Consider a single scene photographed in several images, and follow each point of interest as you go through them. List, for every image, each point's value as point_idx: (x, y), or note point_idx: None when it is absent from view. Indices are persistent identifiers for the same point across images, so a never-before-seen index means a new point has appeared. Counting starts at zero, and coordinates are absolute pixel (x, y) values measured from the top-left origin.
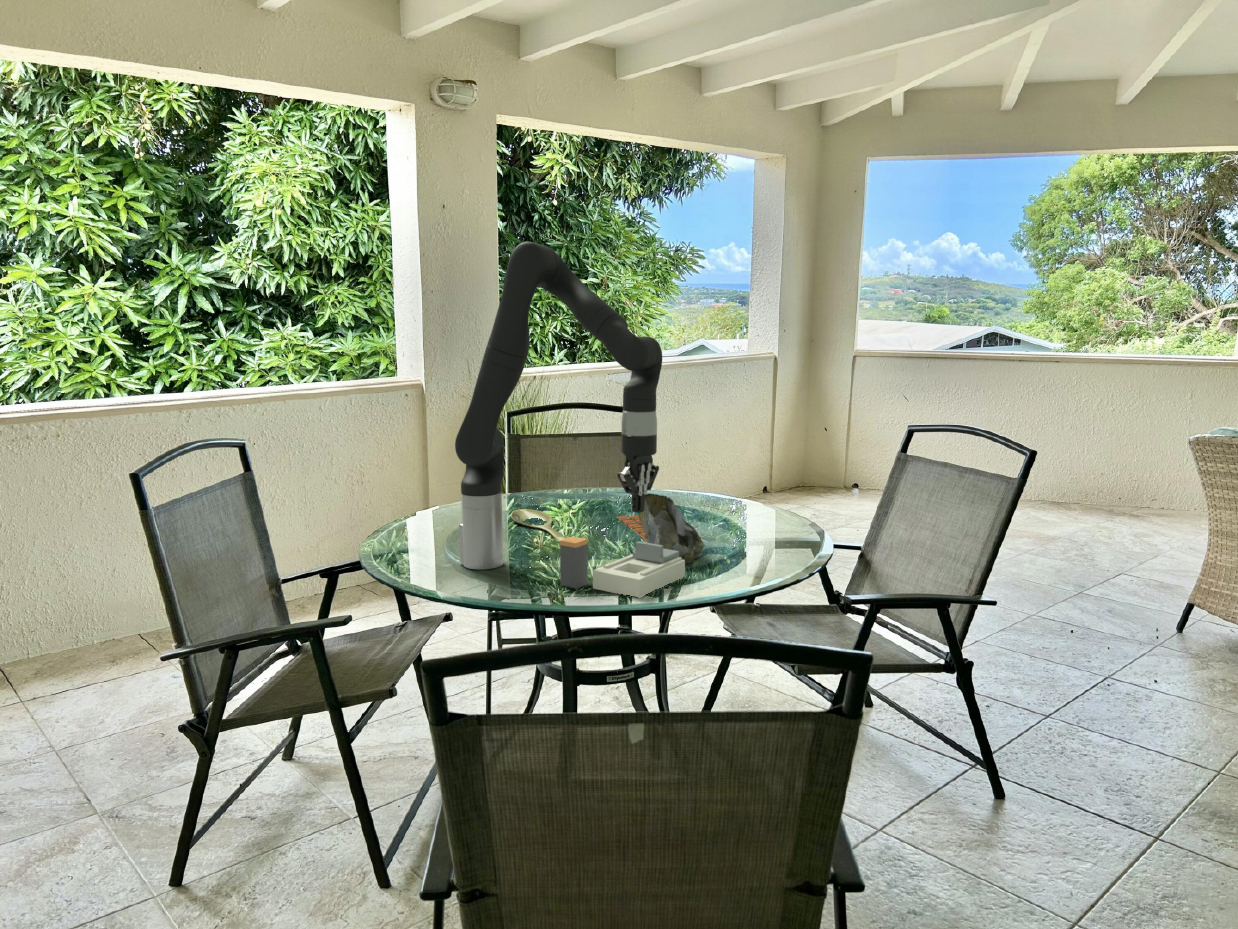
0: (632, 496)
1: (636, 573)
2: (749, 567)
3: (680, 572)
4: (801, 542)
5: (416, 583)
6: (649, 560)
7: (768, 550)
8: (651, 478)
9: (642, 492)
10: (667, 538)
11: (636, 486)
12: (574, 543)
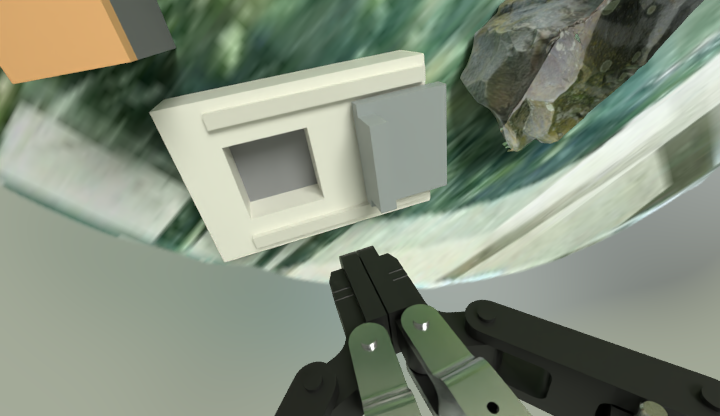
0: (346, 336)
1: (254, 219)
2: (531, 206)
3: None
4: (702, 152)
5: None
6: (361, 160)
7: (643, 150)
8: (543, 408)
9: (407, 363)
10: (524, 84)
11: (422, 364)
12: (8, 75)
